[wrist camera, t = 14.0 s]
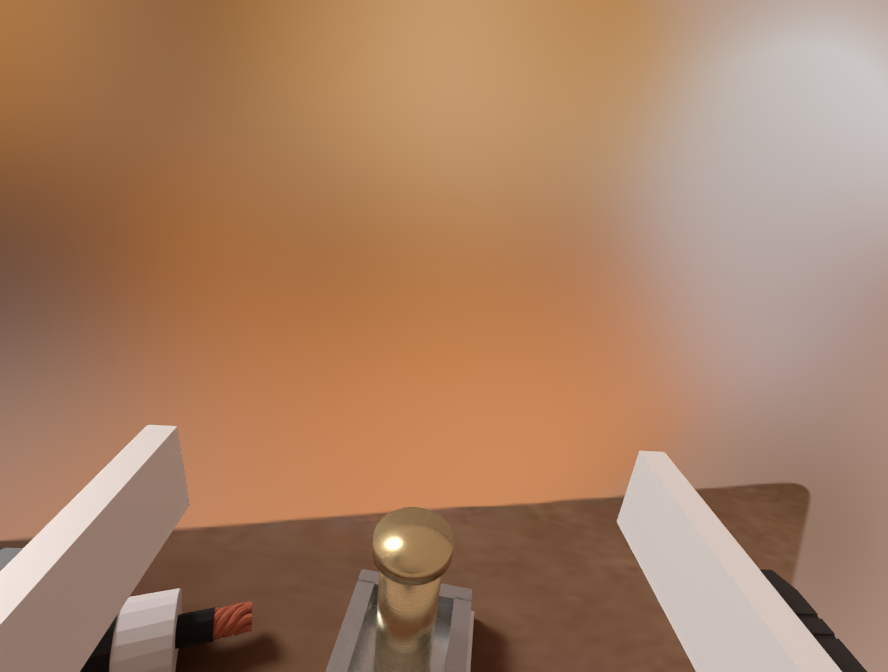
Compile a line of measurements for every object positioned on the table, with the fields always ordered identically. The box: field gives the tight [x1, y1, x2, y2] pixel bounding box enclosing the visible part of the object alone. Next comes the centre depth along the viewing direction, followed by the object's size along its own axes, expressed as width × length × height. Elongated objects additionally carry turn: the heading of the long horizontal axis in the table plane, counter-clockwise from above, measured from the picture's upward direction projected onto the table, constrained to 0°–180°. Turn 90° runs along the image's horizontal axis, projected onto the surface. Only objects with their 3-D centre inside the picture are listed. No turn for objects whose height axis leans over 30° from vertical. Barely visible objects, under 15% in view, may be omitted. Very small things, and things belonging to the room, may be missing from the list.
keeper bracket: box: [326, 569, 474, 672], centre depth 35 cm, size 11×10×4 cm
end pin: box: [372, 507, 454, 672], centre depth 33 cm, size 6×6×13 cm
